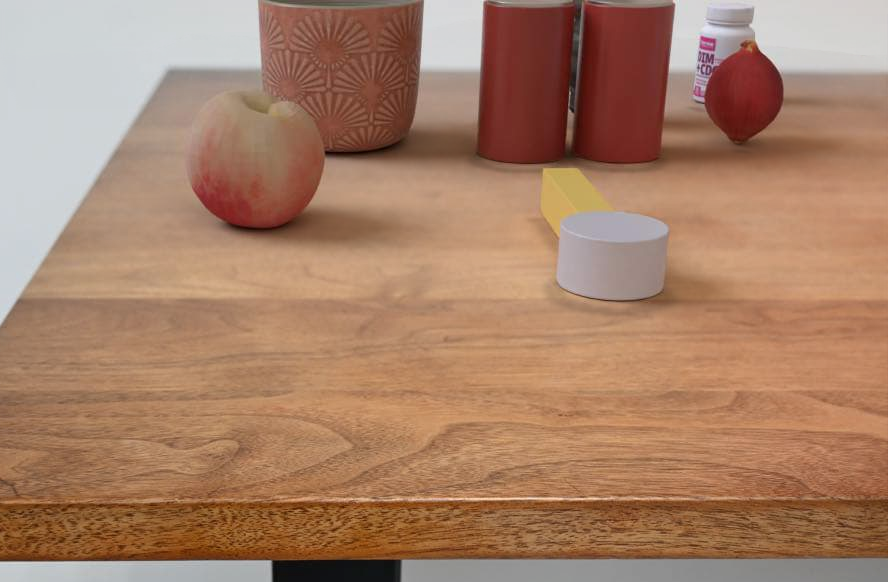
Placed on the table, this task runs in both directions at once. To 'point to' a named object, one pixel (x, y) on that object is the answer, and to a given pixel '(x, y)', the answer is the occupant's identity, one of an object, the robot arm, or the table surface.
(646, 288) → the white cylinder yellow bar
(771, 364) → the table surface
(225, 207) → the fruit
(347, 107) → the planter
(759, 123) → the onion
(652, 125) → the cans
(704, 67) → the pill bottle
